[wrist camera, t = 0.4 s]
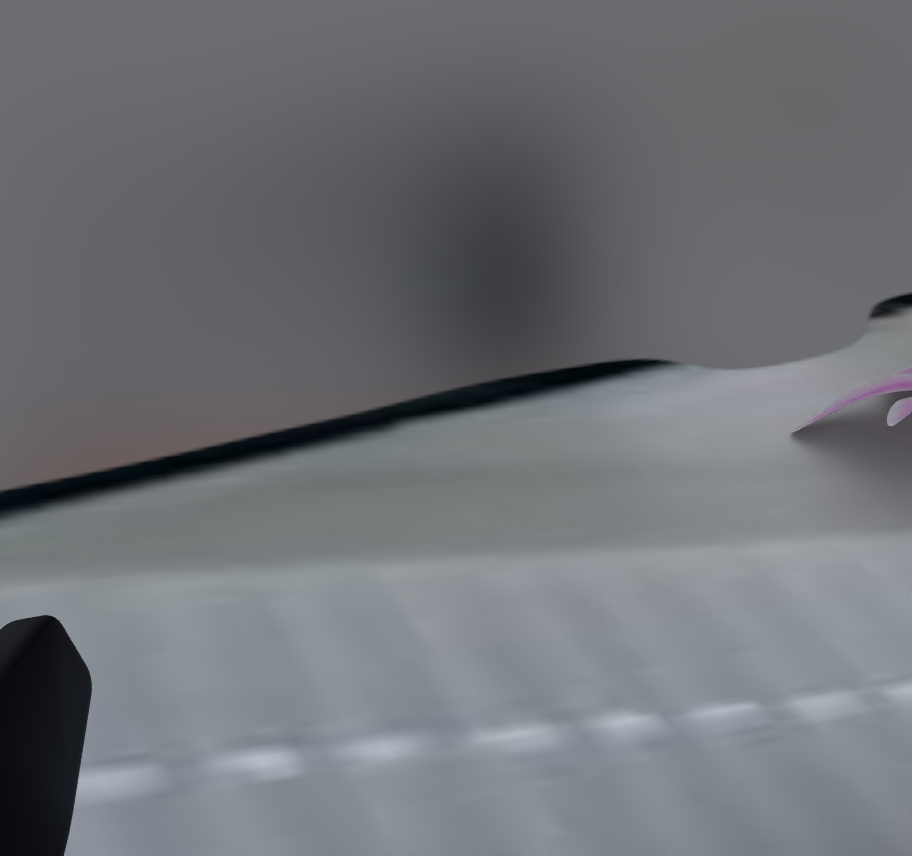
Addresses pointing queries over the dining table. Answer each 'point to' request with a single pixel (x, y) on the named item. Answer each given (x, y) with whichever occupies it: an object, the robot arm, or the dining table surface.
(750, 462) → the dining table surface
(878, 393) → the lily
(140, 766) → the dining table surface
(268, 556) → the dining table surface
